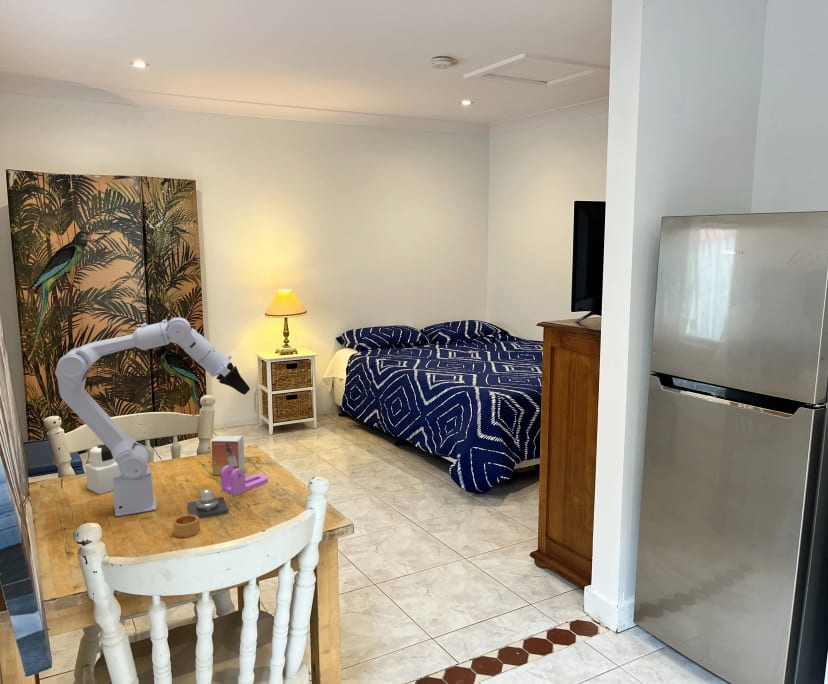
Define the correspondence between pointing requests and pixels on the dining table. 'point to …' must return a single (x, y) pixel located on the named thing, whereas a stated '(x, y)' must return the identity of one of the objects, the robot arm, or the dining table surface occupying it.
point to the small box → (227, 453)
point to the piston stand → (207, 505)
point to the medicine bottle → (101, 470)
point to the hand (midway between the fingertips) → (245, 390)
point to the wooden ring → (186, 526)
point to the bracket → (239, 480)
